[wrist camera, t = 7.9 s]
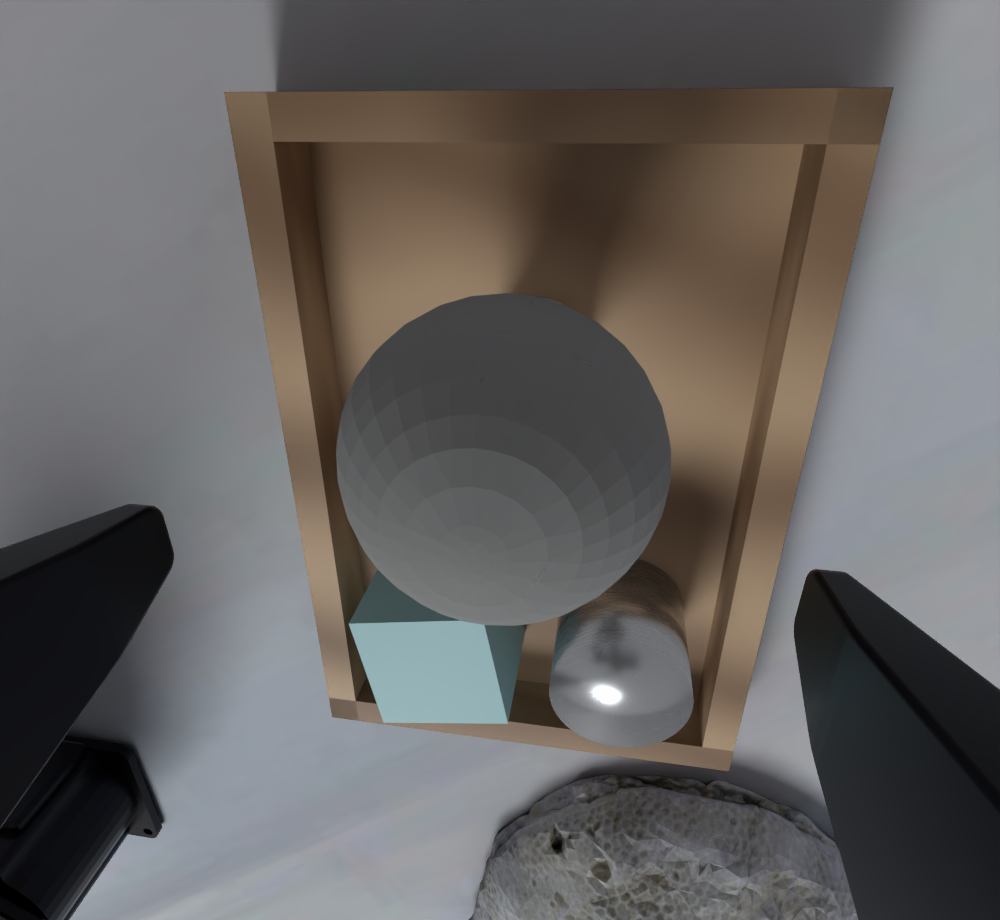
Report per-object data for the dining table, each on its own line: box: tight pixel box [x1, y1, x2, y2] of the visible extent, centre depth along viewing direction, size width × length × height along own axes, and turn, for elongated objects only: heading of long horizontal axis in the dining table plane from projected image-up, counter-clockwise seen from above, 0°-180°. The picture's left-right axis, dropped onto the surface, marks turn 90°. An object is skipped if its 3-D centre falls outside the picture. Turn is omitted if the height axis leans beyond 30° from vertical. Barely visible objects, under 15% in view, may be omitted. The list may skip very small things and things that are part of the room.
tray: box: [224, 87, 893, 771], centre depth 20 cm, size 20×14×2 cm
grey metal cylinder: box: [549, 559, 694, 748], centre depth 20 cm, size 4×4×4 cm
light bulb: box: [336, 293, 671, 626], centre depth 14 cm, size 6×6×10 cm
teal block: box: [349, 570, 525, 724], centre depth 21 cm, size 4×4×4 cm
